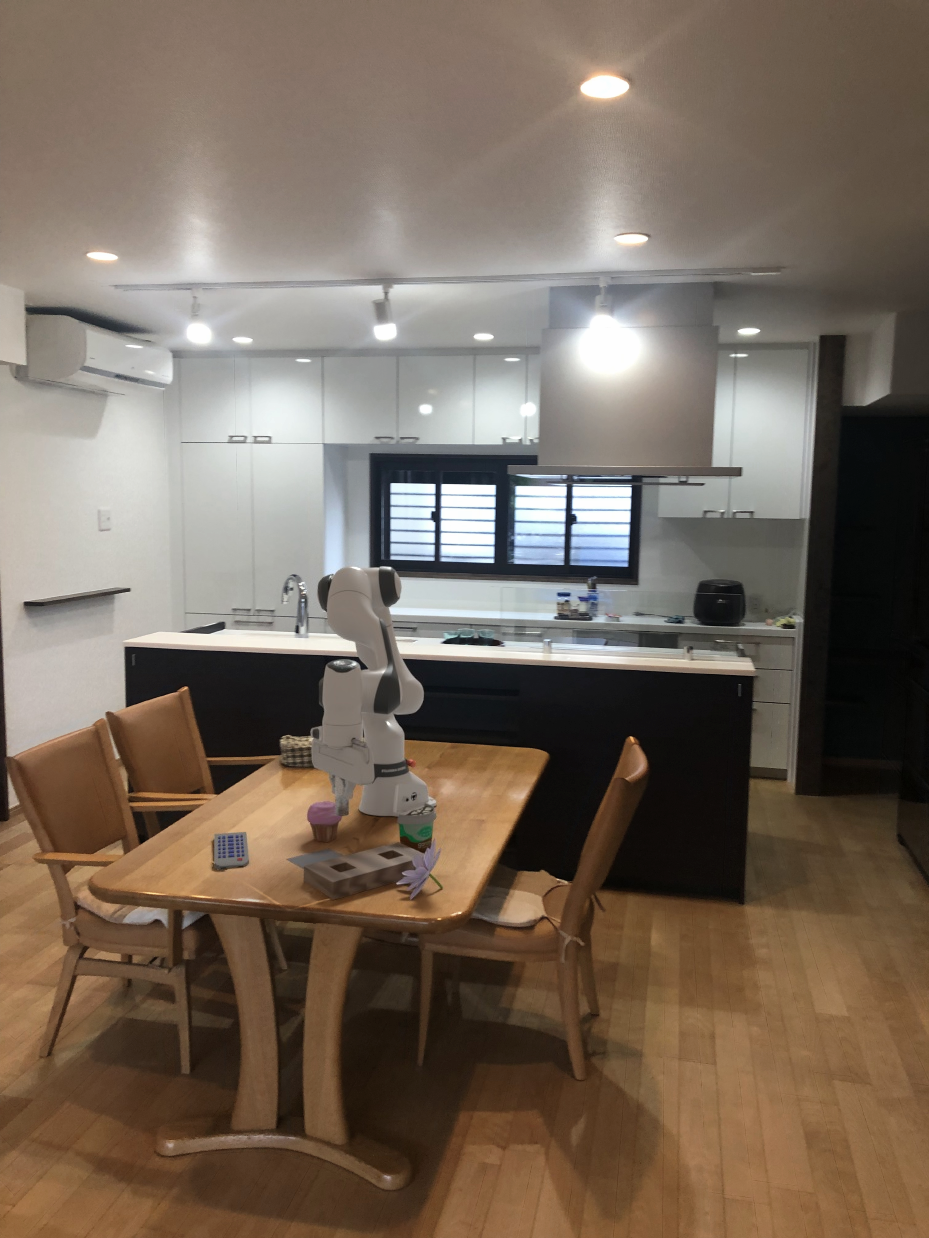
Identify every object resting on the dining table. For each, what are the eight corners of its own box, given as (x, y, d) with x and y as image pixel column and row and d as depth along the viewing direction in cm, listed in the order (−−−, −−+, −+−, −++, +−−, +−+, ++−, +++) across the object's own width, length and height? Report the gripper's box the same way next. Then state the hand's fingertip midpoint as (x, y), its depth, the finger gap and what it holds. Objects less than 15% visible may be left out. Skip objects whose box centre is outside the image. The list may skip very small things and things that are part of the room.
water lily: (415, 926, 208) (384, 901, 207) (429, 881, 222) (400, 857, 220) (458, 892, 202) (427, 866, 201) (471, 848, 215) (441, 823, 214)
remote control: (246, 839, 244) (246, 830, 244) (249, 869, 222) (249, 860, 222) (214, 841, 242) (214, 832, 242) (214, 872, 221) (213, 863, 220)
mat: (329, 849, 235) (329, 848, 235) (356, 863, 226) (356, 862, 226) (286, 860, 228) (286, 858, 228) (312, 875, 218) (312, 873, 218)
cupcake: (331, 847, 237) (331, 808, 236) (300, 843, 240) (300, 804, 239) (347, 836, 245) (347, 798, 244) (317, 832, 248) (317, 794, 247)
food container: (417, 859, 229) (418, 819, 228) (396, 854, 233) (397, 814, 231) (445, 845, 240) (446, 806, 239) (425, 840, 243) (425, 802, 242)
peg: (344, 811, 213) (344, 767, 212) (351, 814, 211) (351, 770, 210) (332, 813, 212) (332, 769, 211) (339, 816, 209) (340, 772, 208)
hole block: (397, 858, 230) (398, 841, 230) (428, 872, 221) (428, 855, 221) (303, 883, 214) (303, 866, 213) (332, 900, 204) (332, 882, 204)
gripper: (381, 741, 204) (381, 804, 205) (330, 724, 219) (330, 783, 221) (356, 745, 200) (356, 809, 201) (306, 728, 215) (306, 788, 217)
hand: (342, 796), depth 211 cm, fingers closed on peg, 3 cm apart
